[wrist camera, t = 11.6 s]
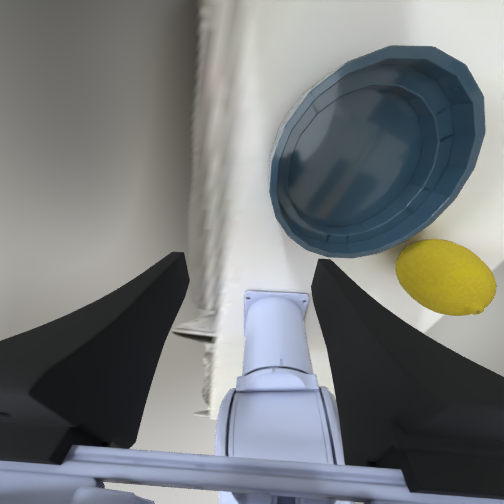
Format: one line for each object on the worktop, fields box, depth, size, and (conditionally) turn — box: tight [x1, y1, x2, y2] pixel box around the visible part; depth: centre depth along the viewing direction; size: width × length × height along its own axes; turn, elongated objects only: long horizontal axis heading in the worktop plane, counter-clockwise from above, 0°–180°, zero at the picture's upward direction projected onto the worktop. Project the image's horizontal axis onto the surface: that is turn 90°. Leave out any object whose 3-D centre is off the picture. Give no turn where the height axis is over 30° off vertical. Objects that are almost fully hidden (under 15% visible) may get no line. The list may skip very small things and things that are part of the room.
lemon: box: [395, 239, 496, 316], centre depth 17 cm, size 6×6×8 cm
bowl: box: [269, 45, 485, 258], centre depth 15 cm, size 13×13×4 cm
